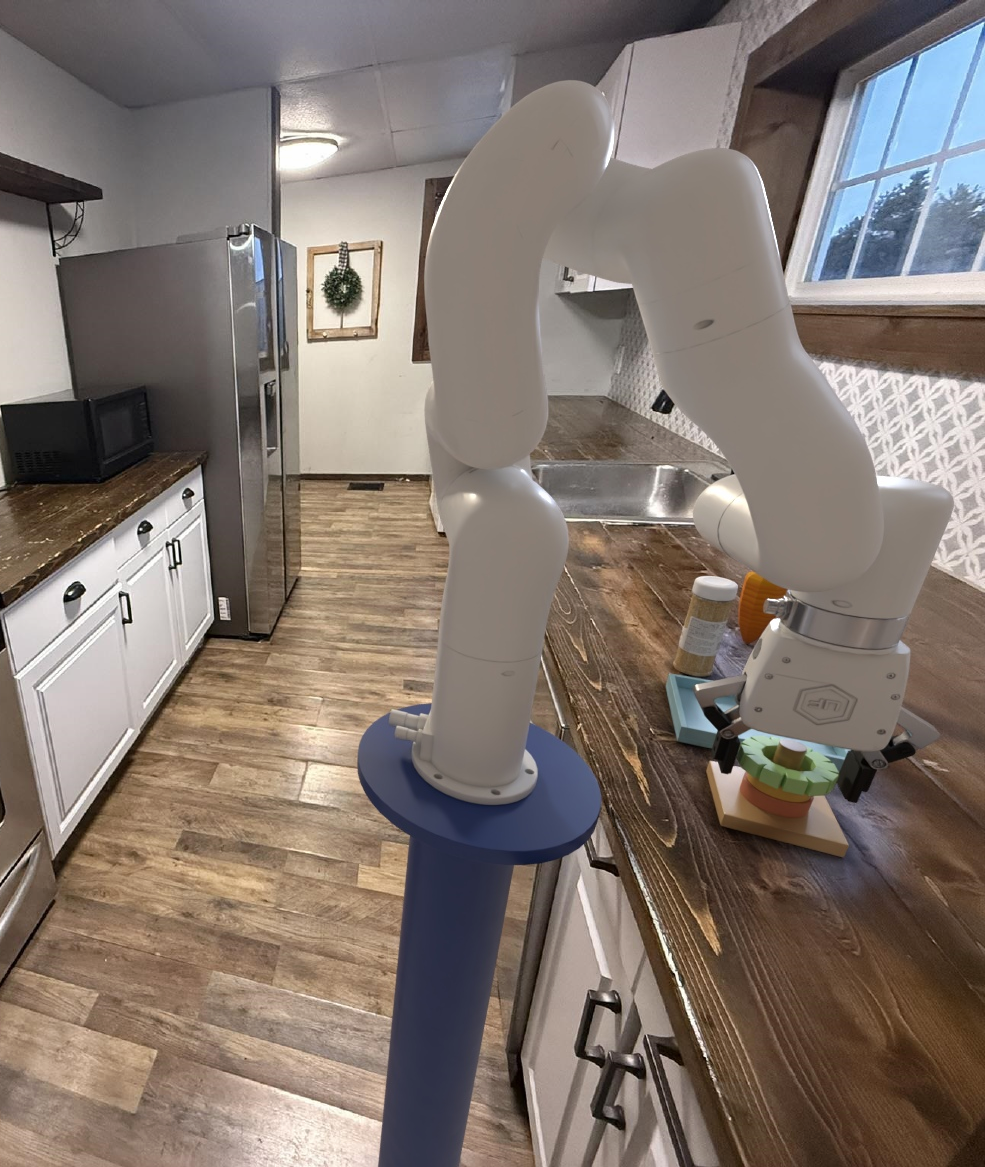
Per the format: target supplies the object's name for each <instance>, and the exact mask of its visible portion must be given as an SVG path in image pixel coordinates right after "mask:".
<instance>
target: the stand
mask: <svg viewBox="0 0 985 1167" xmlns="http://www.w3.org/2000/svg"><path fill="white" fill-rule="evenodd" d="M806 752H807V748H806V746H804V745H803V744H801V743H799V742H797V741H794V740H790V739H782V740H780V741H779V744H778V746H777V749H776V752H775V755H774V757H773V758H769V760H770V761H771V762H773V763H775V764H777V765H780V766H782V767H784V768H787V769H791V770H796V771H800V772H802V771H804V770H802V769H801V768H800V767H801V765H802V762H803V759H804V757H805V754H806ZM705 771H706V776H707V779H708V783H709V787H710V791H711V795H712V800H713V803H714V806H715V810H716V813H717V818H718V821H719V824H720V826H721V827H724V828H726V829H727V828H728V829H732V830H736V831H740V832H743V833H746V834H751V835H755V836H759V837H763V838H767V839H770V840H773V841H778V842H782V843H786V844H789V845H793V846H798V847H801V848H805V849H809V850H812V851H817V852H821V853H825V854H828V855H832V856H836V857H840V858H845V855H846V853H847V852H848V849H849V847H850V845H849V843H848V840H847V838H846V835H845V834H844V832H843V830H842V828H841V826H840V823H839V822H838V820H837V818H836V815H835V814H834V811H833V810H832V808H831V806H830V804H829V801H828V800H827V798H826V794H825V795H824V796H807V795H806V794H805V793H804V795H798V794H794V793H789V792H785V791H783V790H782V787H781V786H780V787H779V788H778V789H776V788H774V787H771V786H769V785H767V784H765V783H763V782H760V781H759V778H753V777H752V776H751V775H750V774H748V773H747V772H746V771H745V770H744V769H742V766H737V765H734V766H733V769H732V772H731V774H730V773H729V774H723V773H721V771H720V768H719V764H718V761H715V760H709V761H708V764H707V767H706V770H705Z"/></svg>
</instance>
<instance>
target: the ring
mask: <svg viewBox="0 0 985 1167" xmlns="http://www.w3.org/2000/svg"><path fill="white" fill-rule="evenodd" d="M780 740H782V739H781V738H776V737H771V736H770V738H768V737H766V736H753V737H751V738H747V739H746V740H744V741H743V742H742V743H741V745H740V748H739V751H738V754H737V756H736V759H737V762H738V765H739V767H741V768H742V769H744V770H745V771H746V772H747V773H748V774H750V775H751V776H752V777H753V778H759V781H760V782H763V783H765V784H767V785H769V786H771V787H774V788H776V789H778V788H779V787H780V786H781V787H782V790H783V791H785V792H789V793H794V794H798V795H804V793H805V794H806V795H807V796H824V795H825V796H826V795H829V794H830V793H831V792H832V791H833V790H834V789H835V787H836V785H837V783H836V782H837V780H838V777H839V771H838V770H837V768H836V766H835V764H833V763H831V760H829V759H828V758H826V757H825V756H823V755H822V754H820V753H819V752H812V751H813V749H811V748H809V747H806V748H807V752H806V754H805V757H804V759H803V762H802V765H801V767H800V768H801V769H802V770H804V771H802V772H800V771H796V770H791V769H787V768H784V767H782V766H780V765H777V764H775V763H773V762H771V761H770V760H769V758H773V757H774V755H775V752H776V749H777V746H778V744H779V741H780Z"/></svg>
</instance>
